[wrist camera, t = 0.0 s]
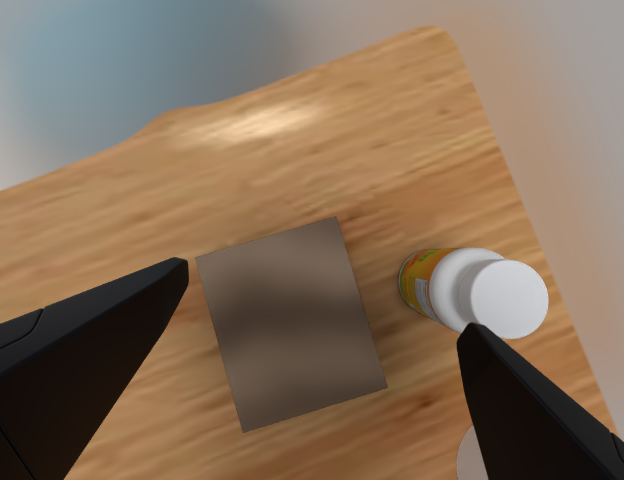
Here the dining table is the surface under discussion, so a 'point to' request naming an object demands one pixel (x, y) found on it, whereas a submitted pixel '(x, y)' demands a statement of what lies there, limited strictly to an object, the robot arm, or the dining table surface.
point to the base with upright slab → (470, 458)
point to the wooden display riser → (290, 324)
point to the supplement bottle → (474, 290)
